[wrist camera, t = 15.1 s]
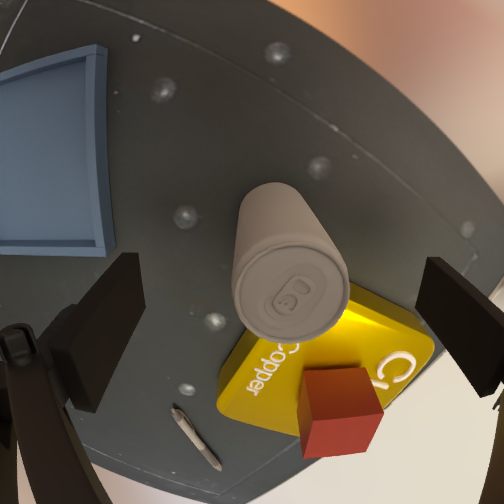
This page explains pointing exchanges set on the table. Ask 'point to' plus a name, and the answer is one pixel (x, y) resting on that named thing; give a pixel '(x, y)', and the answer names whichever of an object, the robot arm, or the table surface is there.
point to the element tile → (323, 361)
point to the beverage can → (286, 268)
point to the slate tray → (55, 156)
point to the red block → (337, 412)
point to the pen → (195, 437)
